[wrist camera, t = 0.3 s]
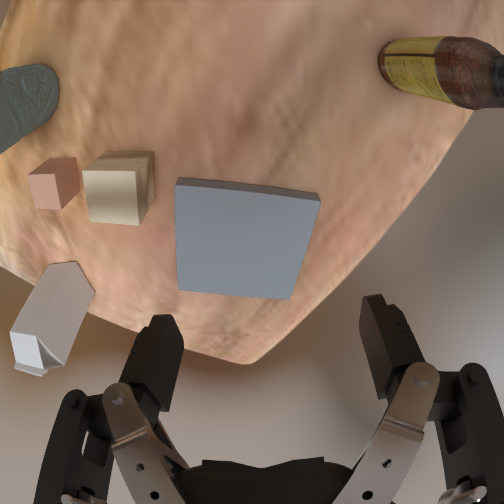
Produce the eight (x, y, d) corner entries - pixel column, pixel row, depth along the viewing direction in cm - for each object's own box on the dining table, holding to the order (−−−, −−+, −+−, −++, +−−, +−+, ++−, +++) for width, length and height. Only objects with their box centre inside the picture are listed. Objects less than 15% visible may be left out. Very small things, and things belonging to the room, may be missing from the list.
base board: (178, 177, 30) (174, 184, 28) (317, 193, 31) (321, 201, 30) (180, 280, 39) (178, 289, 38) (288, 289, 41) (289, 299, 39)
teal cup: (73, 64, 20) (0, 80, 10) (55, 141, 25) (-8, 185, 16) (20, 57, 17) (-49, 75, 7) (7, 126, 22) (-53, 163, 13)
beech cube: (107, 150, 27) (82, 170, 22) (154, 151, 28) (135, 171, 23) (111, 195, 31) (90, 221, 26) (154, 198, 31) (139, 225, 27)
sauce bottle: (416, 98, 23) (555, 171, 8) (370, 78, 22) (520, 129, 7) (427, 52, 19) (574, 89, 4) (382, 28, 18) (535, 29, 3)
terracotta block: (49, 158, 26) (27, 174, 23) (76, 157, 27) (54, 173, 23) (55, 189, 29) (35, 208, 25) (80, 189, 30) (61, 209, 26)
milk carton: (49, 263, 37) (-1, 353, 22) (77, 260, 37) (25, 361, 22) (67, 293, 42) (28, 380, 27) (95, 292, 41) (57, 389, 26)
